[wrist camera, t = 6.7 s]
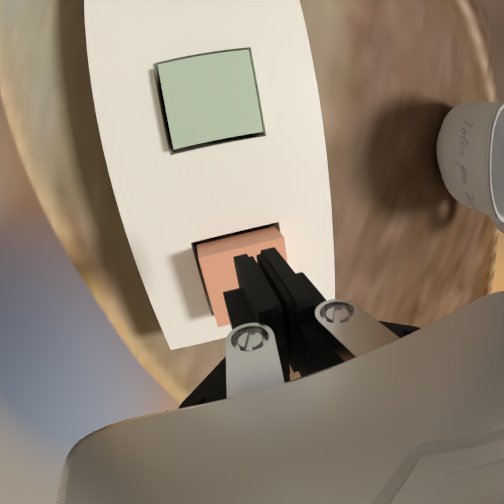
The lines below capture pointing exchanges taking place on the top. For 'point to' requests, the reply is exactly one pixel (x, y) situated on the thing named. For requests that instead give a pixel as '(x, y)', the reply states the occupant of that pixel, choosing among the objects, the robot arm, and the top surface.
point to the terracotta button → (232, 263)
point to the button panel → (209, 147)
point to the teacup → (474, 157)
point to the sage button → (210, 97)
